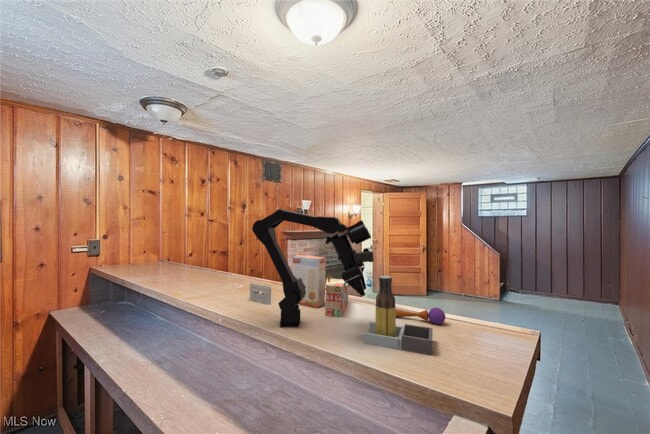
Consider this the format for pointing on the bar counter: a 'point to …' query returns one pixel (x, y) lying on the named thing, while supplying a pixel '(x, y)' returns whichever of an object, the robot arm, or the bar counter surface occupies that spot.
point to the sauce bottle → (385, 308)
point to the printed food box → (336, 297)
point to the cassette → (260, 298)
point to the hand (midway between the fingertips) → (364, 292)
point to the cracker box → (311, 278)
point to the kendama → (425, 315)
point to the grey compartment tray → (403, 338)
